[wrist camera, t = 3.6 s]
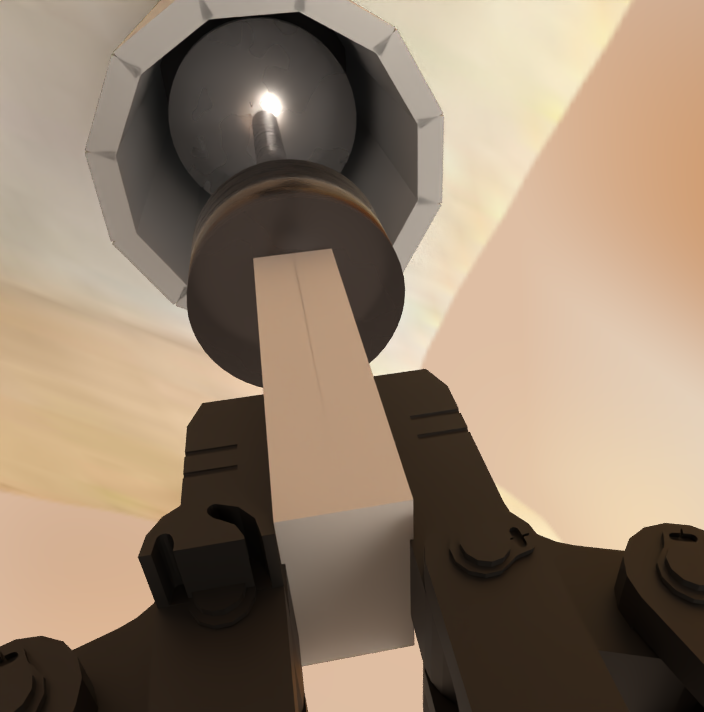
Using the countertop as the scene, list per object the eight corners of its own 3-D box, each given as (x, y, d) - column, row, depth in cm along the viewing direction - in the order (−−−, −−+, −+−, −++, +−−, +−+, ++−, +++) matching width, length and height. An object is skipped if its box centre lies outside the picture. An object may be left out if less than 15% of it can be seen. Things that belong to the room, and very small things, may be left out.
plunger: (150, 24, 23) (58, 141, 11) (347, 8, 24) (480, 99, 11) (190, 215, 27) (159, 461, 15) (357, 195, 28) (463, 414, 15)
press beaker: (117, -40, 28) (28, -12, 16) (357, -58, 29) (455, -46, 17) (180, 240, 36) (154, 411, 23) (369, 218, 37) (443, 369, 24)
